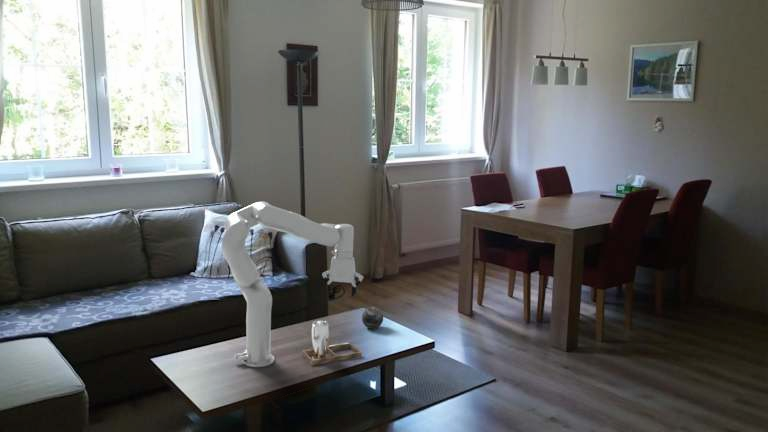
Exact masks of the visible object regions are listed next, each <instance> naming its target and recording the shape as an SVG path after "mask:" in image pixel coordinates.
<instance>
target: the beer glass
mask: <svg viewBox="0 0 768 432" xmlns="http://www.w3.org/2000/svg"><path fill="white" fill-rule="evenodd" d="M329 325H330V324H329V322H328V321H326V320H315V321H313V322H312V325H311V342H312V349H313V354H312V357H311V358H312V360H314V359H320V358H326V357H328V353H327V352H326V348H327V347H328V341H329V337H330V335H329V334H330V329H329V328H330V327H329Z"/></svg>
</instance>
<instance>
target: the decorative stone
mask: <svg viewBox="0 0 768 432" xmlns="http://www.w3.org/2000/svg"><path fill="white" fill-rule="evenodd" d="M361 320H362V321H361V322H362V324H363V325H364V326H365V327H366V328H367V329H373V330H374V329H377V328H379V327H380V326H381V325H382V324H383V322H384V315H383V313H382V310H381V309H379V308H378V307H376V306H369V307H367V308H366V309H364V311H363V312H362V316H361Z"/></svg>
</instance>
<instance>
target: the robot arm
mask: <svg viewBox="0 0 768 432" xmlns="http://www.w3.org/2000/svg"><path fill="white" fill-rule="evenodd" d="M223 225H224V229H225V233H224V235H223V237H222V240H221V249H222V253H223V256H224V258H225V260H226V262H227V264H228V266H229V268H230V273H231V275H232V277H233V279H234V281H235V282H236V284H237V287H238V288H239V290H240V292H241V293H242V295H243V297H244V300H245V301H246V317H245V323H246V324H245V326H246V330H245V332H246V333H245V334H246V339H245V340H246V341H245V342H246V343H245V344H246V346H245V347H246V348H245V349H243V352H241V353H234V354H233V356H234V357H233V358H234V360H239V361H241V362H242V364H244V365H245V366H247V367H250V368H262V367H268V366H270V365H272V364H274V362H275V356H274V355H273V354H272V353H271V349H272V348H271V347H272V346H271V345H272V344H271V341H272V339H271V336H272V335H271V333H272V332H271V330H272V329H271V328H272V327H271V326H272V325H271V324H272V306H273V296H272V292H271V291H270V289H269V288H268V286H267V285H266V283H265V282H264V280H263V279H262V277H261V275H260V273H259V270H258V267H257V265H256V264H255V262H254V261H253V260H252V258H251V255H250V254H249V251H248V249H247V247H246V240H247V238H248V236H249V234H250V232H251V228H253V227H256V226H258V225H260V226H263V227H266V228H267V229H268V228H269V229H272V230H275V231H278V232H279V231H280V232H281V233H282V232H283V233H286V234H288V235H293V236H294V237H297V238H302V239H305V240H306V241H309V242H313V243H315V244H317V245H318V244H319V245H322V246H327V247H334V249H333V250H331V251H330V254H332V255H333V256H331V260H330V267H329V269H328V270H326V271H324V272H322V274H321V275H322V278H323V280H324V281H325V282H326V284H327V292H328V294H329V295H331V294H332V293H333V288H334V287H333V282H335V283H336V282H337V283H343V284H344V283H346V284H347V283H348V284H350V283H351V285H352V287H351V297H354V296H355V295H356V294H357V287H358V286H359V285H360V284H361V282H362V281H363V279H364V276H363V275H362V274H360V273H359V272H357V271H356V264H355V263H356V261H355V257H354V255H353V254H354V235H355V234H354V233H355V232H354V231H355V228H354V226H353V225H352V224H349V223H338V224H336V223H335V224H334V223H326V222H324V223H318V222H315V221H312V220H310V219H309V218H306V217H305V216H303V215H301V214H299V213H297V212H294V211H290V210H287V209H284V208H280V207H277V206H274V205H271V204H270V203H269V202H267V201H264V200H263V201H258V202H254V203H252V204H250V205H248V206H246V207H244V208H241V209H239V210H237V211H235V212H232V213H231V214H229V215H227V217H226V218H225V220H224V224H223ZM328 274H329V276H327V275H328ZM356 277H357V278H358V280H357V281H356V280H355V279H356Z"/></svg>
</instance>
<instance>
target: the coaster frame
mask: <svg viewBox="0 0 768 432" xmlns="http://www.w3.org/2000/svg"><path fill="white" fill-rule="evenodd" d="M340 349H342V350H346V349H350V351H352V352H351V353H345V354H340V355H339V354H338V355H337V354H336V353H335V352H334V351H333V350H336V351H340ZM326 353H327V355H329V356H327V357H326V358H320V359H314V360H313V359H312V357H311V355H313V348H311V349H304V350H301V356H302V357H303V358H304V360H306V361H307V362H308V363H309V365H311V366H316V365H317V366H319V365H322V364H328V363H334V361H335V362H340V361H339V360H341V361H345V360H346V359H347V360H352V359H356V358H357V359H358V358H361V357H362V353H363V352H362V351H361V350H359V348H357V347H356V346H355V345H353V344H352V342H343V343H336V344H332V345H331V344H330V345H327V348H326Z"/></svg>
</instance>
